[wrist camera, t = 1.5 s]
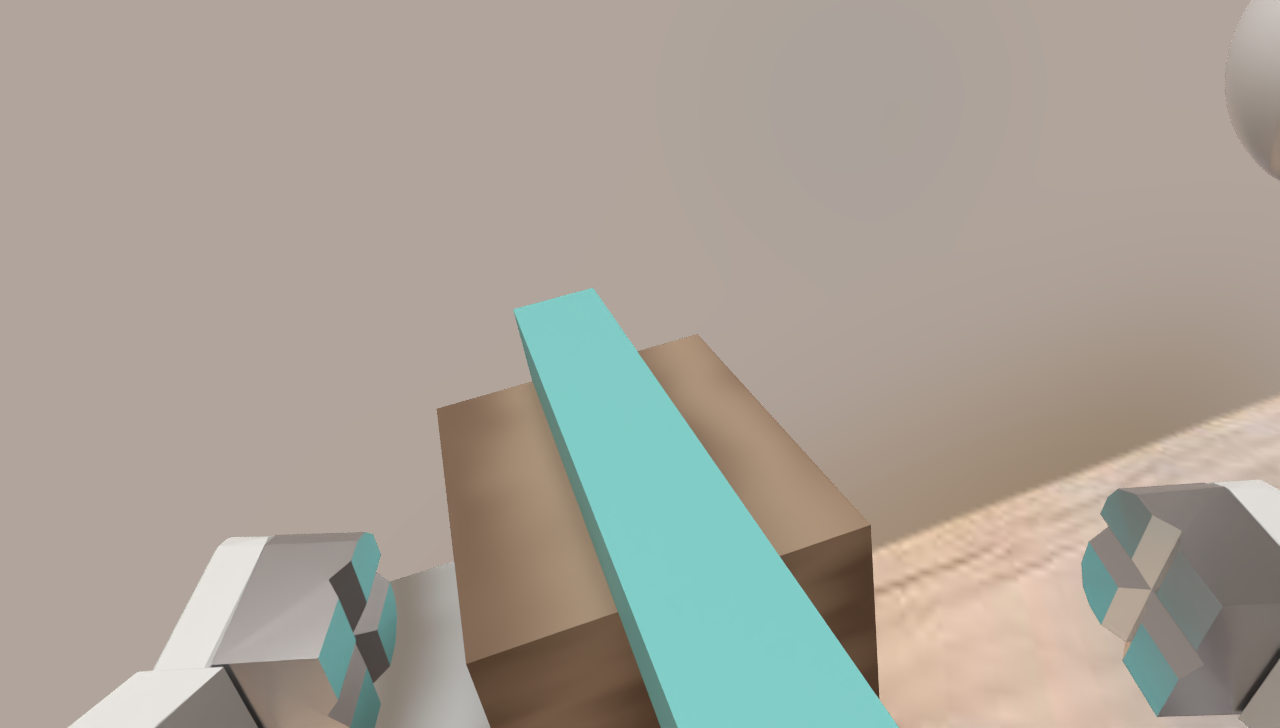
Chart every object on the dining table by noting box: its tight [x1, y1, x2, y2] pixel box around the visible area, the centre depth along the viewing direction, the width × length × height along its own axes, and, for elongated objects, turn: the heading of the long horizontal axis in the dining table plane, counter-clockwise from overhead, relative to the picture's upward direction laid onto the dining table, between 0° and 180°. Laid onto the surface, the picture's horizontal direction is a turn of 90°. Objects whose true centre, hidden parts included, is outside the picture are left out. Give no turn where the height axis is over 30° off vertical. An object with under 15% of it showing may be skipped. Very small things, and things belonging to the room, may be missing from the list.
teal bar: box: [514, 288, 899, 728], centre depth 24 cm, size 4×24×4 cm, turn 16°
